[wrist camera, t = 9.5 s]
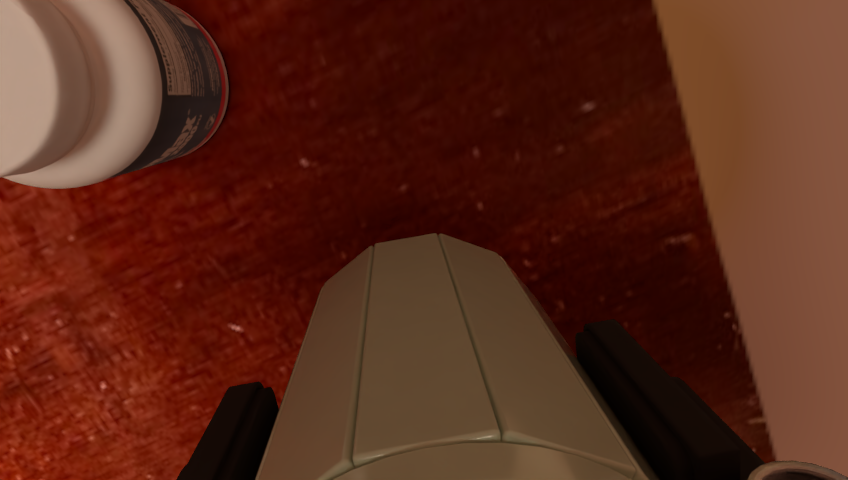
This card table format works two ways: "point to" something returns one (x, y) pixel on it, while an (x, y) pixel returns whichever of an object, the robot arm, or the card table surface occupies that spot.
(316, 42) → the card table surface
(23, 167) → the pill bottle
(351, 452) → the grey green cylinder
